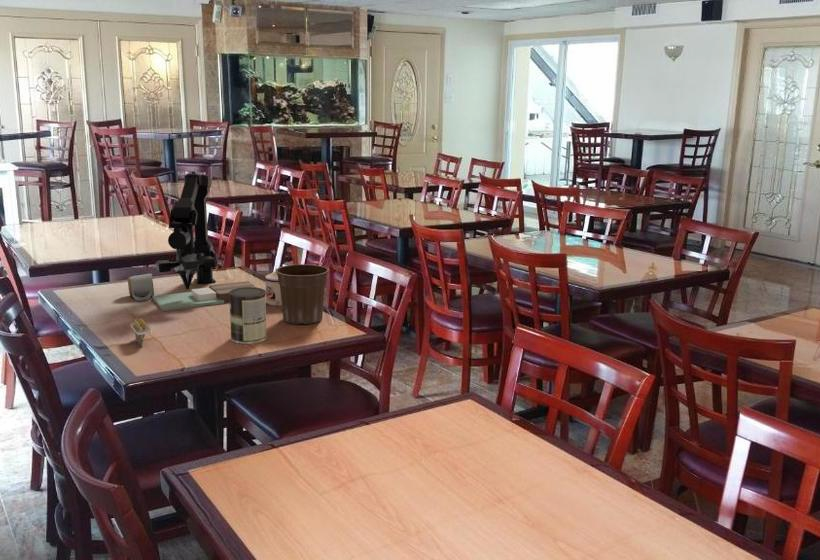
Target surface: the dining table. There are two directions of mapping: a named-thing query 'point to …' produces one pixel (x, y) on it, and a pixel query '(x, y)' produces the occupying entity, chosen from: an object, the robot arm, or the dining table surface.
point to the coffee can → (248, 315)
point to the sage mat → (182, 301)
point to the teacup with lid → (273, 290)
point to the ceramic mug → (141, 287)
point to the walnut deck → (228, 289)
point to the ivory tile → (203, 294)
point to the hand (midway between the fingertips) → (187, 289)
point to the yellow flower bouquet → (140, 333)
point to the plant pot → (302, 292)
